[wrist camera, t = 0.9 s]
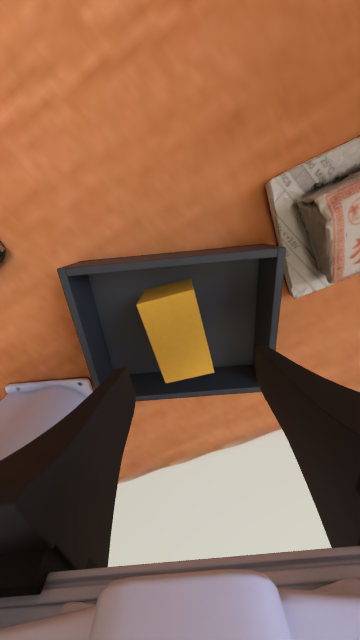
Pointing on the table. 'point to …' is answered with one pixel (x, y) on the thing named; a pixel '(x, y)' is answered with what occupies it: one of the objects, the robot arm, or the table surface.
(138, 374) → the tub
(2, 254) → the sunglasses case
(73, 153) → the table surface
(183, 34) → the table surface
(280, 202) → the packaged product
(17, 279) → the table surface
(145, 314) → the block
